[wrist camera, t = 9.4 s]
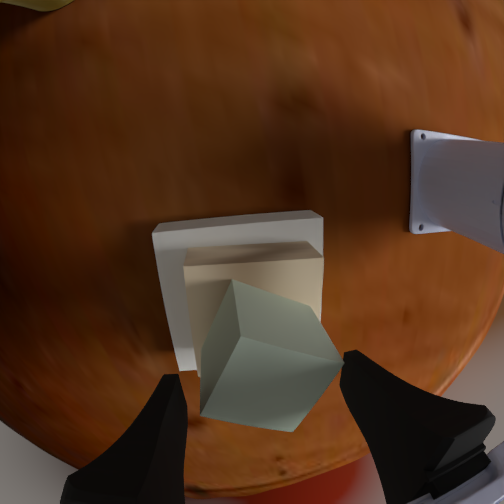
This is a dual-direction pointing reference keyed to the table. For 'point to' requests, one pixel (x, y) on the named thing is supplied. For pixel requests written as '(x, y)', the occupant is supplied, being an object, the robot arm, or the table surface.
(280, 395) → the sage block
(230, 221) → the grey base block
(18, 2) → the plant pot
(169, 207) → the table surface
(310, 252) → the beech top block
